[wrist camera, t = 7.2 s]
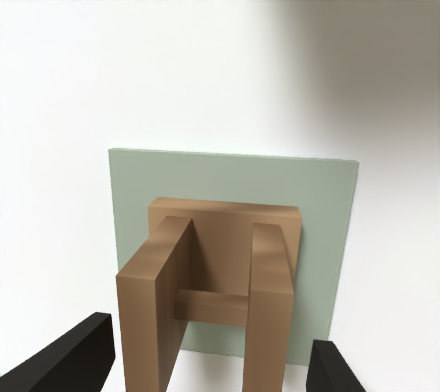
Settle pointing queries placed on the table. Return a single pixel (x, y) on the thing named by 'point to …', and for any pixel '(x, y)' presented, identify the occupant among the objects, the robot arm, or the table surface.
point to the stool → (209, 287)
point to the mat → (246, 193)
